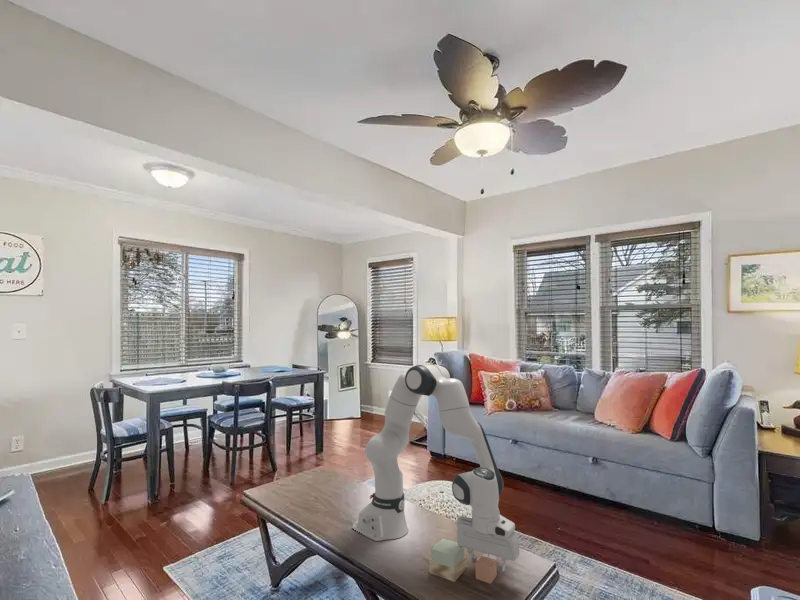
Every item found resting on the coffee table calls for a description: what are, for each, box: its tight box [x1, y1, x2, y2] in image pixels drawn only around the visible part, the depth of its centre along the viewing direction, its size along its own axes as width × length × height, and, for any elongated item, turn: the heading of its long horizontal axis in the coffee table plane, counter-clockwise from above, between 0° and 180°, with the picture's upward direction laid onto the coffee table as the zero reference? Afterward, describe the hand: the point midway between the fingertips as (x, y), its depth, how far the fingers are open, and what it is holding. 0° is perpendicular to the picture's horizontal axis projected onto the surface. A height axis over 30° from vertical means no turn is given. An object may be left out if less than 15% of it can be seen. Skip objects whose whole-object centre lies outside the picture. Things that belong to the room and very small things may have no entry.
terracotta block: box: [474, 555, 498, 585], centre depth 139 cm, size 5×5×5 cm
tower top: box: [430, 538, 465, 569], centre depth 144 cm, size 8×8×4 cm
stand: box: [477, 553, 497, 561], centre depth 149 cm, size 8×5×8 cm
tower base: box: [428, 555, 468, 582], centre depth 144 cm, size 9×9×4 cm
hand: (487, 566), depth 140 cm, fingers open, 8 cm apart
